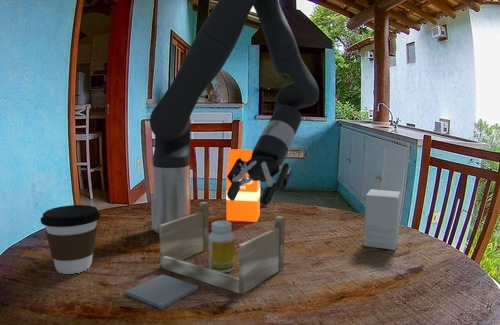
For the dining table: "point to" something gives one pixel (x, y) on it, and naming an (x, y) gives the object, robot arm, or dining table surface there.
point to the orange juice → (243, 192)
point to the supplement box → (382, 219)
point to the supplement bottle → (221, 247)
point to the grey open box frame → (196, 240)
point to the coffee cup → (71, 236)
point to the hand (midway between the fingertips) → (246, 201)
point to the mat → (161, 291)
